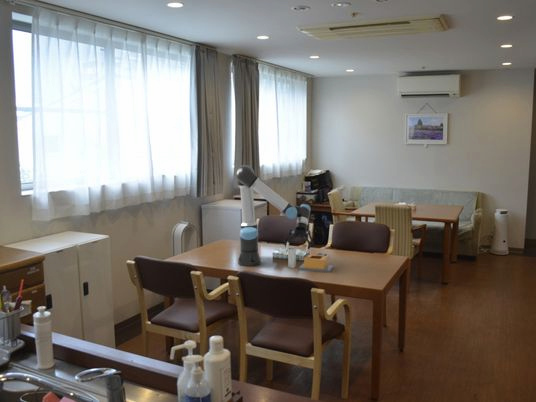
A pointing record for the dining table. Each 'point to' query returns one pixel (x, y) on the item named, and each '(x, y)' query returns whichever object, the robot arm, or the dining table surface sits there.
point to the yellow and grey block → (316, 263)
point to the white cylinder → (292, 257)
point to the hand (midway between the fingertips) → (296, 252)
